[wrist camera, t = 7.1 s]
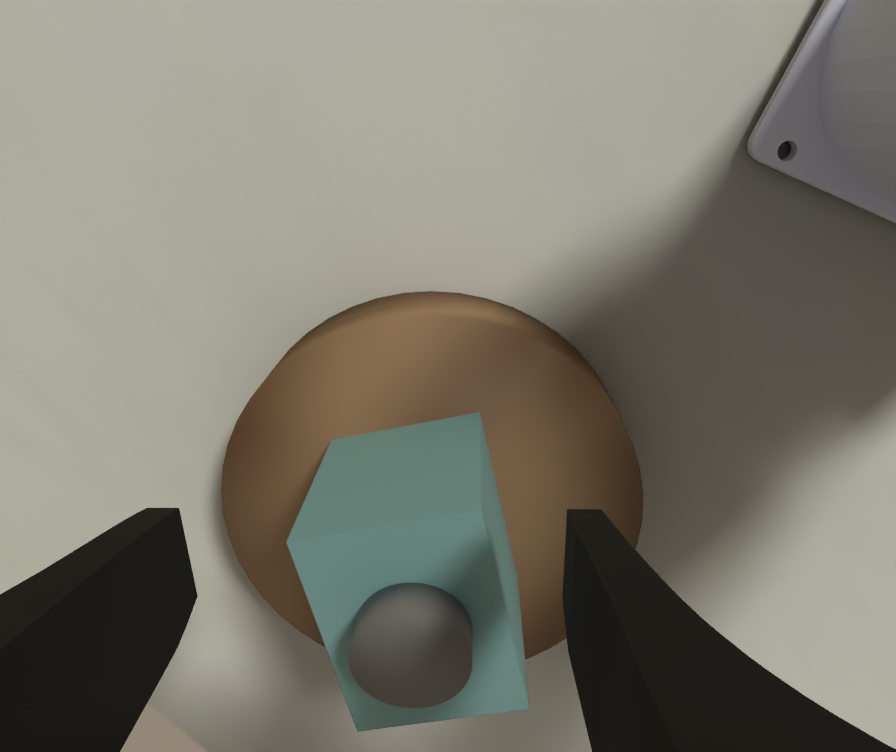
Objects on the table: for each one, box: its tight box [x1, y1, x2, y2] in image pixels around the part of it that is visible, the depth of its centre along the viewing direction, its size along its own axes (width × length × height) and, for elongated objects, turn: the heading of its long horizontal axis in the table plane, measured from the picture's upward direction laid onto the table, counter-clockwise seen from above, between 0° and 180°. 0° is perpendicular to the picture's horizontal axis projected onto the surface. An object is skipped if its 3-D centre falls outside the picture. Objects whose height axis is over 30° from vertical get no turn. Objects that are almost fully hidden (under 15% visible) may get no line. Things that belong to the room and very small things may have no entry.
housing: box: [286, 412, 529, 731], centre depth 18 cm, size 4×6×6 cm
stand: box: [222, 291, 643, 659], centre depth 22 cm, size 13×13×2 cm
